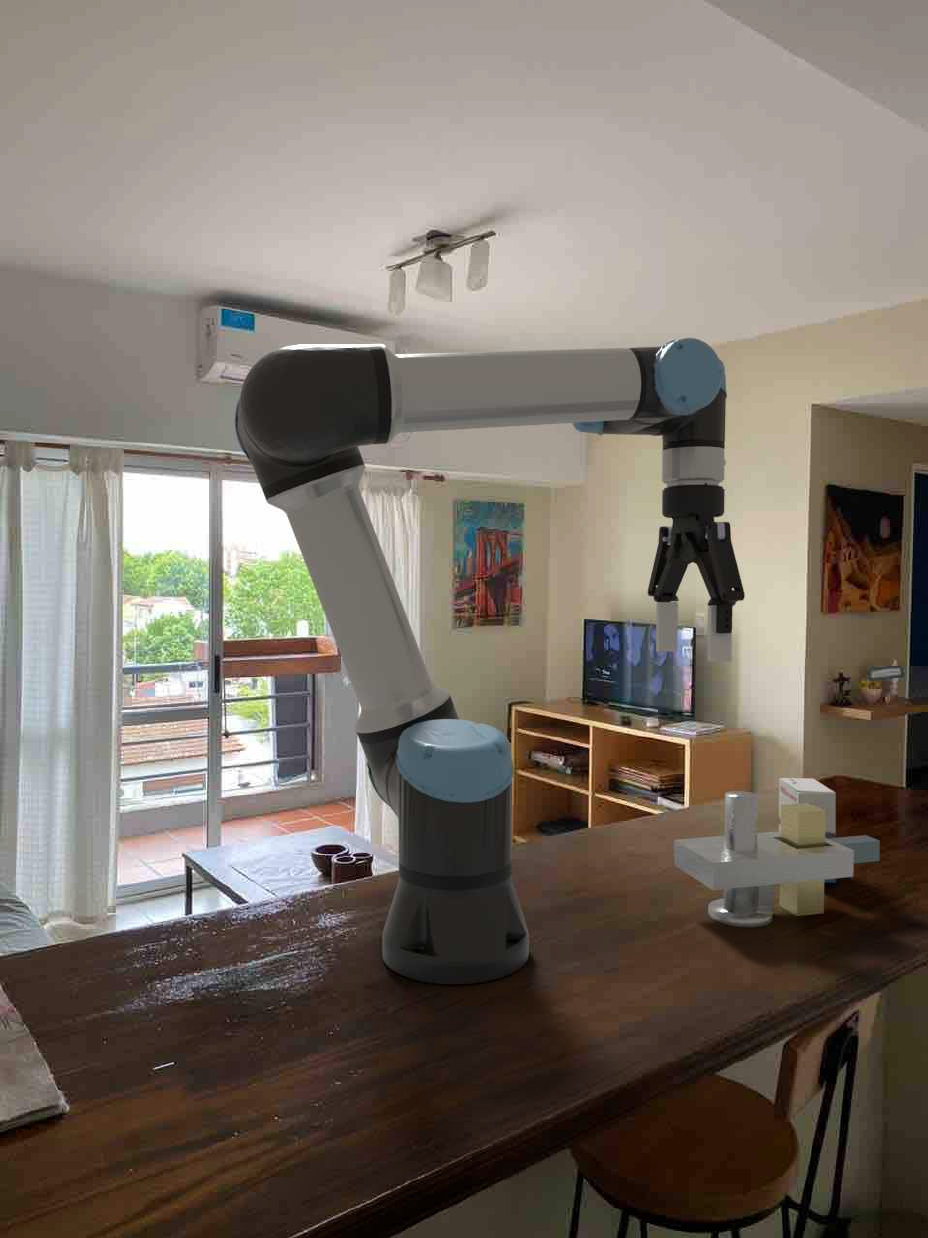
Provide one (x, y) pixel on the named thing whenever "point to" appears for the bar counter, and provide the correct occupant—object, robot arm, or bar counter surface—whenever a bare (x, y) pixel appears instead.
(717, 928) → the bar counter surface
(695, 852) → the slotted post fixture
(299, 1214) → the bar counter surface
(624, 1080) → the bar counter surface
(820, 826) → the pale yellow rectangular block
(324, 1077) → the bar counter surface
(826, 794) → the ink box
